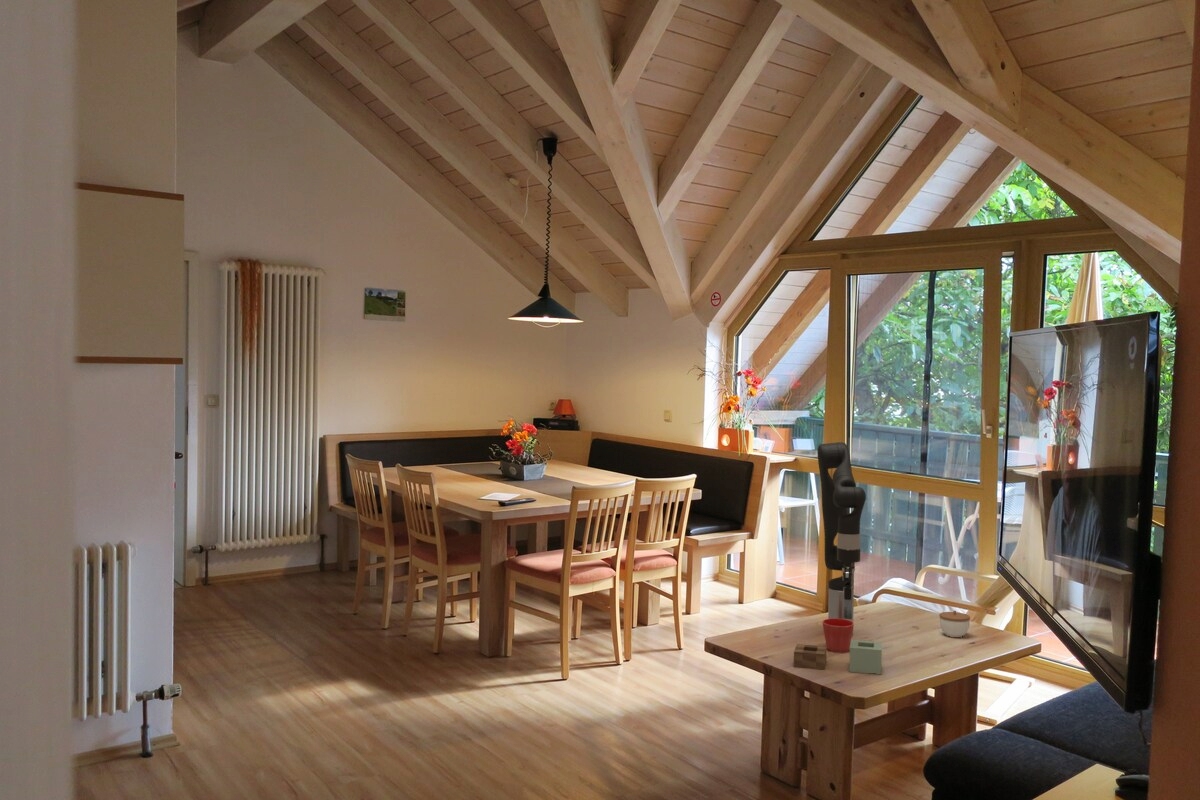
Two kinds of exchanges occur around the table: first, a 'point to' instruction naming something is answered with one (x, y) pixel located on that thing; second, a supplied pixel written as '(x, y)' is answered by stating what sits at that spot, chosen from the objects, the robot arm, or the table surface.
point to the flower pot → (838, 634)
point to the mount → (810, 656)
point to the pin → (848, 605)
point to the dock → (865, 656)
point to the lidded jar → (954, 623)
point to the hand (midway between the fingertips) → (848, 598)
